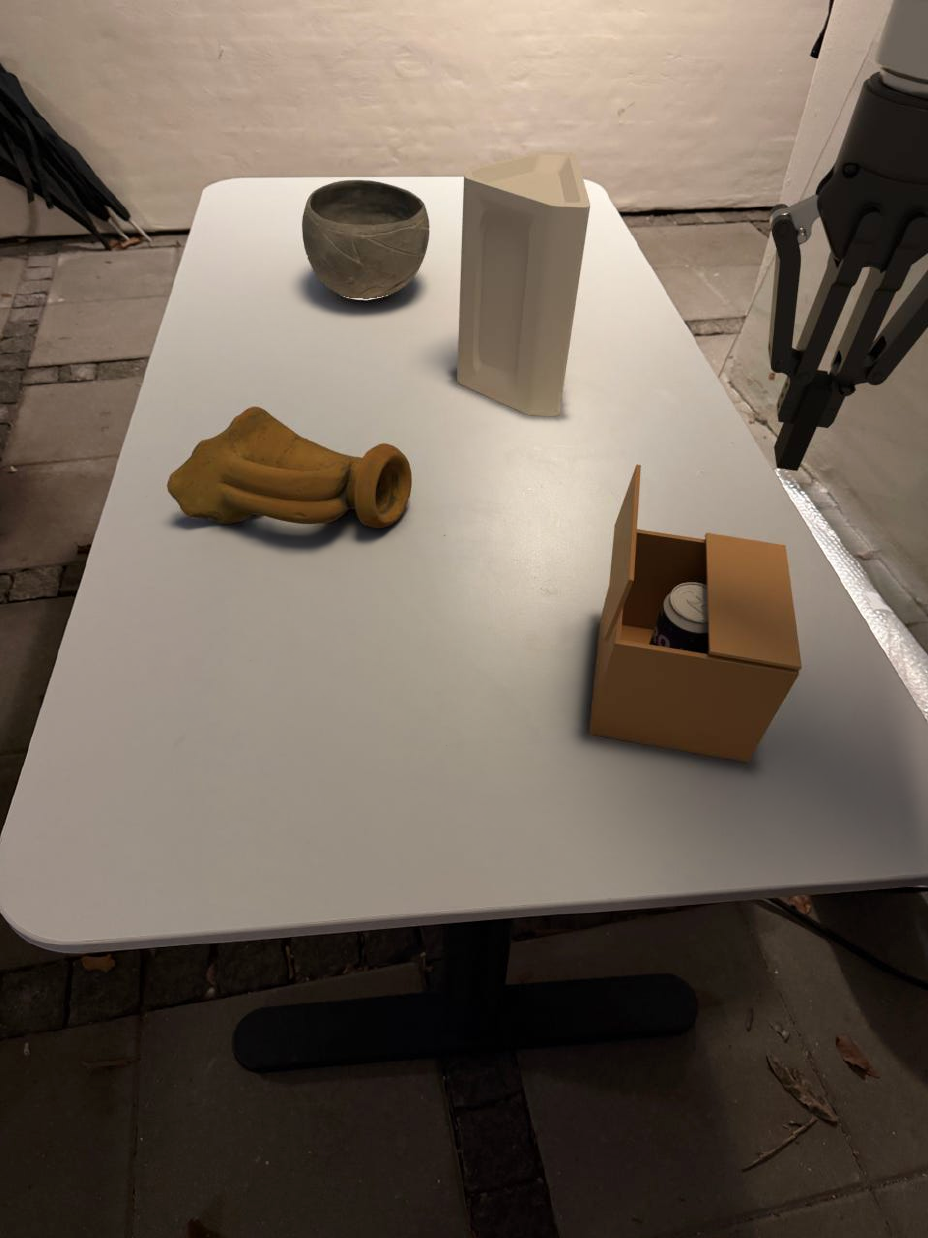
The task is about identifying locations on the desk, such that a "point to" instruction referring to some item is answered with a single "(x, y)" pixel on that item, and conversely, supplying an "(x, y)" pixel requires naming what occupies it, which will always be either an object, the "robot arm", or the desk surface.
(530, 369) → the tall recessed triangular prism
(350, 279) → the bowl
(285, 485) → the brown looped sculpture
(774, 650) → the flap
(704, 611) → the beverage can
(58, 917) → the desk surface
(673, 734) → the carton
